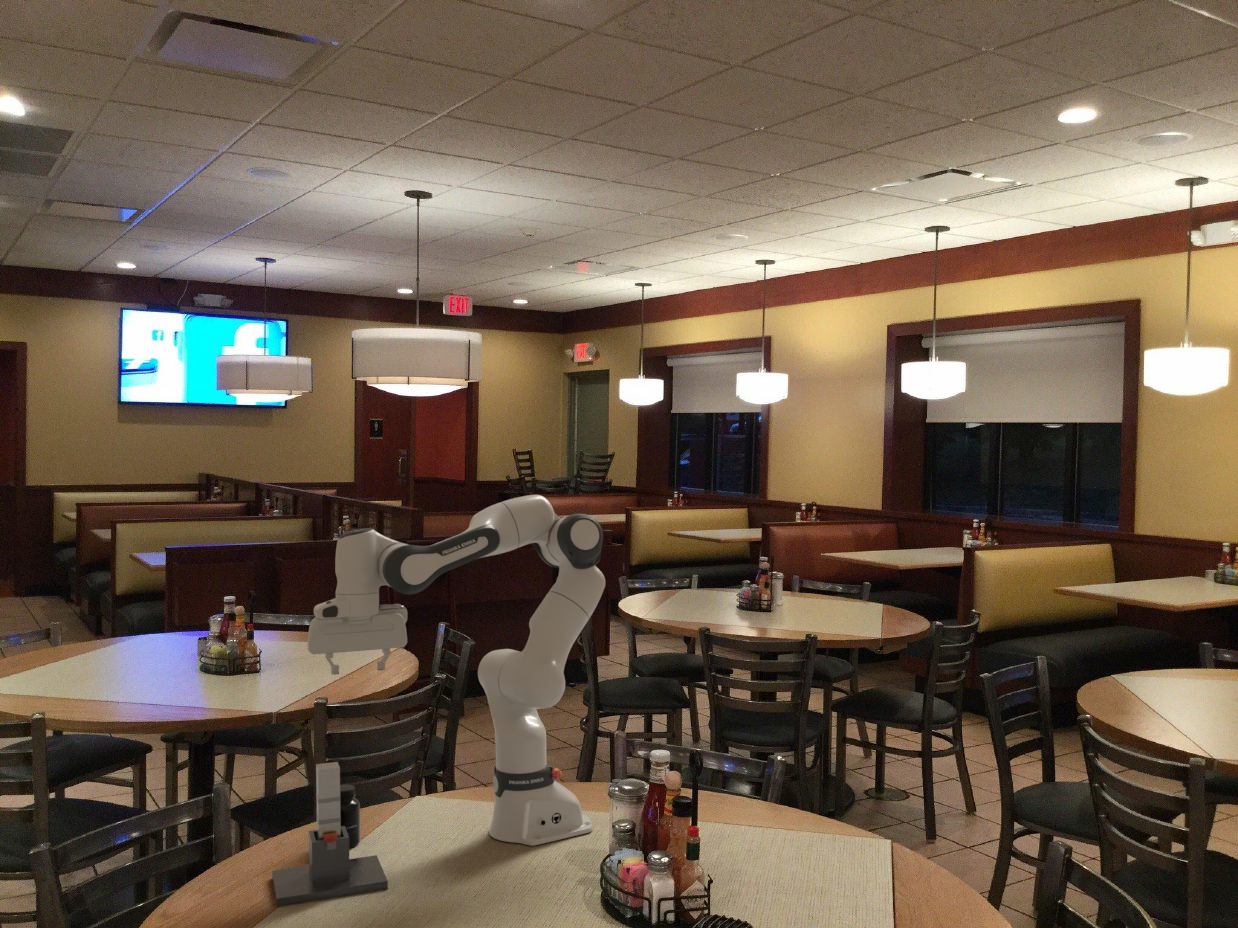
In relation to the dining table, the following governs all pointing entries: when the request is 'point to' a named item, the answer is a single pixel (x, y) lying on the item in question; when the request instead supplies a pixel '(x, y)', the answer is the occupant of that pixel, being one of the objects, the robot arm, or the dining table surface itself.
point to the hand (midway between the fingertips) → (358, 671)
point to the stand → (328, 873)
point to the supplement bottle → (350, 814)
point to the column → (328, 799)
